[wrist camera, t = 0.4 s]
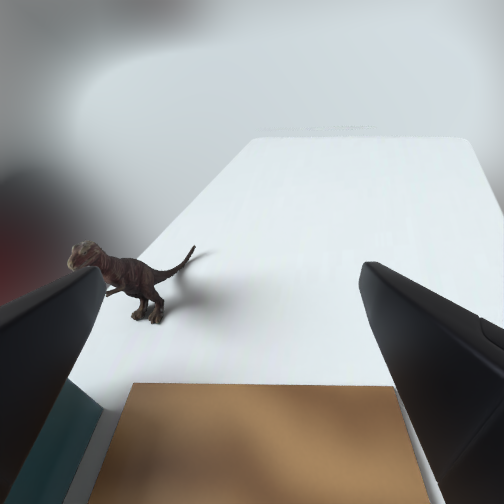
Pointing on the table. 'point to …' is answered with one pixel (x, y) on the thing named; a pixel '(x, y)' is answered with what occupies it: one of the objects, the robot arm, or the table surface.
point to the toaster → (57, 449)
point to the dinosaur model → (126, 276)
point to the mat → (260, 447)
